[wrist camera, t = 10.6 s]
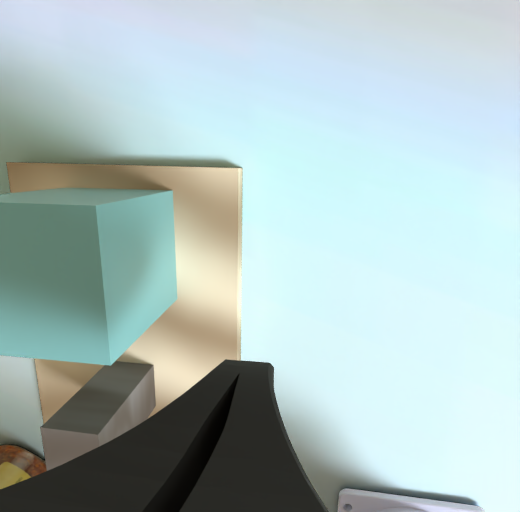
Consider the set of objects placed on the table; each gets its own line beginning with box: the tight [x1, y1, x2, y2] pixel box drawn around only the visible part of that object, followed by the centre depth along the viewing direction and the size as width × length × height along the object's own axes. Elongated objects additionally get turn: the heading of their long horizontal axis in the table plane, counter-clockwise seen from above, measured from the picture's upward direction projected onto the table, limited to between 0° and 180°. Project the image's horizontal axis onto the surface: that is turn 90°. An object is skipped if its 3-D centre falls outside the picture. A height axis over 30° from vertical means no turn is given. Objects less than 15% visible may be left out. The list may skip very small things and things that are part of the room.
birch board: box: [6, 162, 242, 471], centre depth 18 cm, size 16×12×6 cm
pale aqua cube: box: [0, 187, 177, 366], centre depth 16 cm, size 6×6×7 cm
